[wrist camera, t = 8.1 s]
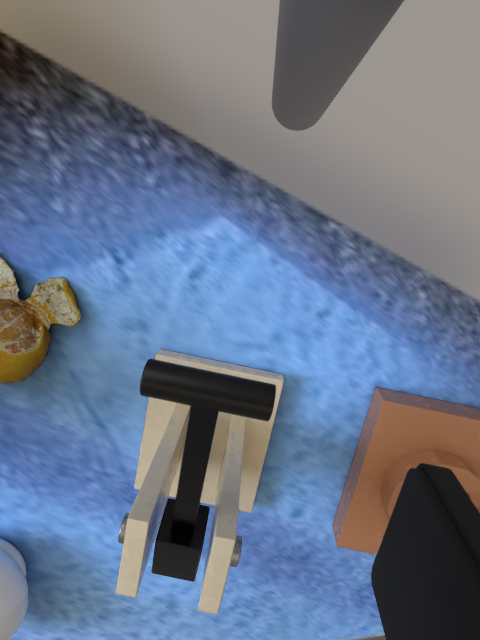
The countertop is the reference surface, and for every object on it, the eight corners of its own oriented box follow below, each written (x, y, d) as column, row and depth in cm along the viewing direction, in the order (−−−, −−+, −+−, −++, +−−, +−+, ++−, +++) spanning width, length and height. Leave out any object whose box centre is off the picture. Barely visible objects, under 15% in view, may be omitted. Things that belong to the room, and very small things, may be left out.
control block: (375, 386, 31) (391, 413, 27) (513, 415, 31) (548, 445, 27) (332, 525, 35) (340, 566, 31) (457, 551, 35) (481, 595, 31)
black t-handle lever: (154, 344, 18) (136, 382, 16) (277, 369, 18) (275, 411, 16) (137, 524, 24) (123, 567, 22) (228, 542, 24) (222, 588, 22)
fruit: (91, 290, 30) (68, 302, 27) (59, 392, 33) (34, 415, 29) (-25, 243, 30) (-63, 249, 26) (-49, 350, 32) (-88, 369, 29)
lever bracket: (159, 348, 31) (91, 445, 19) (283, 374, 31) (296, 488, 19) (138, 479, 34) (67, 637, 22) (251, 502, 34) (245, 673, 22)
